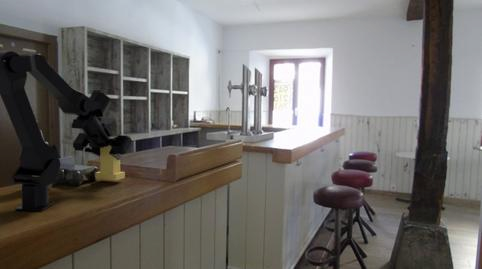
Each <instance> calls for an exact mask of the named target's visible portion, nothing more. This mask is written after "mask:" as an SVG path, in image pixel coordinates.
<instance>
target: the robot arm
mask: <svg viewBox="0 0 482 269" xmlns="http://www.w3.org/2000/svg"><path fill="white" fill-rule="evenodd" d="M27 73H29V74H30V75H31V76H32V77H33V78H34V79H35V80H36V81H37V82H38V83H40V84H41V85H42V86H43V87H44V88H45V89H46V90H47V91H48V92H49V93H50V94H51V95H52V96H53V97H54V98H55V99H56V103H57V106H58V107H59V109H60V110H61V111H62V113H64V114H65V115H67V116H76V117H75V118H74V119H72V123H71V126H70V127H71V129H80V130H81V131H82V132H79V133H78V135H77V136H76V137H75V139H74V140H73V142H72V148H73V149H74V150H75V151H80V152H85V153H88V154H91V155H94V156H97V157H99V158H100V148H103V147H108V146H109V145H110V147H111V150H110V152H109V154H110V155H112V156H113V157H114V158H116V159H118V160H120V161H121V158H122V156H121V155H125V154H126V153H127V151H128V149H129V147H130V145H131V143H132V142H133V140H132V138H131V136H130V135H124V134H118V135H116V136H115V137H113V138H112V136H113V134H114V133H113V131H115V129H117V128H118V124H117V121H116V118H114V117H103V116H104V114H105V113H106V111H107V109H108V108H109V107H110V106H111V103H112V99H111V97H109V96H108V95H106V94H105V93H103V92H101V90H99V89H98V90H96V89H94V90H92V92H91V95H90V96H88V95H86V94H85V93H83V92H82V91H80V90H77V89H75V88H73V87H72V86H71V85H70V84H69V83H68V82H67V81H66V80H65V79H64V78H63V76H61V75H60V73H59V72H57V71H56V70H55V69H54V68H53V66H52V65H50V63H49V62H48V61H47V59H46V57H45V56H44V55H43V54H41V53H23V54H20V53H17V52H16V51H13V50H9V51H8V50H0V97H1V100H2V103H3V104H4V107H5V109H6V113H7V115H8V117H9V119H10V121H11V124H12V127H13V129H14V131H15V134H16V136H17V139H18V141H19V143H20V146H21V150H20V153H19V157H18V158H19V163H20V164H19V166H18V167H17V168H16V169H15V171H14V172H13V174H12V175H11V179H12V183H13V184H16V185H17V184H19V185H21V205H19V206H16V208H15V209H14V210H15V211H24V212H25V211H31V212H33V211H35V212H40V211H41V212H42V211H45V210H46V209H48V208H50V207H51V206H53V205H55V201H49V189H48V185H50V184H52V185H53V184H55V183H56V180H57V177H58V173H59V169H60V160H59V158H62V157H61V156H60V155H59V154H60V153H59V152H58V147H57V145H56V144H53V143H51V144H50V143H48V144H47V143H45V142H46V141H45V139H44V140H43V138H44V136H43V137H42V135H43V133H42V134H41V132H40V130H41V129H40V127H39V124H38V122H37V119H36V115H35V113H34V110H33V107H32V106H31V103H30V100H29V96H28V95H27V92H26V88H25V86H26V82H27V80H28V79H27V78H28V74H27ZM32 175H33V176H40V177H32Z"/></svg>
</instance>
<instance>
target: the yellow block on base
mask: <svg viewBox="0 0 482 269" xmlns="http://www.w3.org/2000/svg"><path fill="white" fill-rule="evenodd" d="M110 150H111V147H110V145H109V146H108V147H103V148H100V157H99V165H100V166H99V170H100V171H99V172H96V173H95V178H96V180H106V181H107V180H108V181H119V180H122V179H125V178H126V172H125V171H121V159H120V160H118V159H116V158H114V157H113V156H112V155H110V154H109V152H110Z"/></svg>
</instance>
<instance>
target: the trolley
mask: <svg viewBox="0 0 482 269" xmlns="http://www.w3.org/2000/svg"><path fill="white" fill-rule="evenodd" d="M75 158H76V156H75V155H71V156H64V157H61V158H59V160H60V169H59V173H58V177H57V180H56V183H54V184H55V185H62V184H65V183H66V182H67V184H69V185H70V186H71V187H76V186H79V185H81V184H83V182H84V178H86V180H88V181H91V182H92V181H93V182H94V181H95V180H97V179H96V178H95V173H96V172H99V171H100V168H99V167H98V166H96V165H82V164H78V163H77V164H75V162H76V160H75ZM84 176H85V177H84Z"/></svg>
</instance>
